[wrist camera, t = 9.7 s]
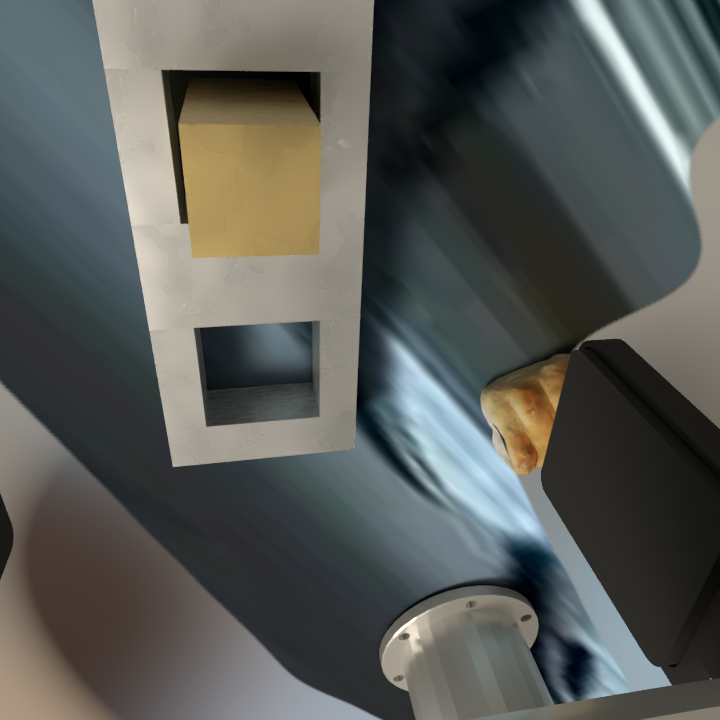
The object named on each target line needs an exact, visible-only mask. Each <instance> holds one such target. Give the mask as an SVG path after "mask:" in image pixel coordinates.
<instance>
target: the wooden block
mask: <svg viewBox="0 0 720 720" xmlns="http://www.w3.org/2000/svg"><path fill="white" fill-rule="evenodd" d="M178 127H179V136H180V146H181V155H182V165H183V175H184V184H185V194H186V203H187V213H188V222H189V232H190V241H191V251H192V258H211V257H248V256H285V255H319V238H320V177H321V124H320V123H319V121H318V119H317V118H316V116H315V114H314V112H313V111H312V109H311V107H310V106H309V104H308V102H307V101H306V99H305V97H304V96H303V94H302V92H301V91H300V89H299V87H298V85H297V84H296V82H295V80H269V79H230V78H191V77H190V81H189V85H188V88H187V92H186V96H185V100H184V104H183V108H182V111H181V115H180V119H179V123H178Z"/></svg>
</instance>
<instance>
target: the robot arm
mask: <svg viewBox="0 0 720 720" xmlns="http://www.w3.org/2000/svg"><path fill="white" fill-rule="evenodd" d="M541 481H542V486H543V489H544V491H545V493H546V495H547V497H548V498H549V500H550V501H551V503H552V505H553V506H554V508H555V510H556V511H557V513H558V515H559V516H560V518H561V519H562V521H563V523H564V524H565V526H566V528H567V529H568V531H569V532H570V534H571V536H572V537H573V539H574V541H575V542H576V544H577V545H578V547H579V549H580V550H581V552H582V554H583V555H584V557H585V559H586V560H587V562H588V563H589V565H590V567H591V568H592V570H593V572H594V573H595V575H596V576H597V578H598V580H599V581H600V582H601V585H602V586H603V588H604V589H605V591H606V593H607V594H608V596H609V597H610V599H611V601H612V603H613V604H614V606H615V607H616V609H617V611H618V612H619V614H620V615H621V617H622V619H623V620H624V622H625V624H626V625H627V627H628V628H629V630H630V632H631V633H632V635H633V637H634V638H635V640H636V641H637V643H638V645H639V647H640V648H641V650H642V651H643V653H644V654H645V656H646V658H647V659H648V660H649V661H650V662H651V663H652V664H653V665H655V666H657V667H661V668H662V670H663V671H664V673H665V675H666V676H667V678H668V679H669V681H670V683H671V684H672V686H666V687H660V688H654V689H649V690H642V691H636V692H630V693H624V694H618V695H612V696H606V697H600V698H594V699H588V700H582V701H576V702H570V703H564V704H558V705H554V703H553V701H552V699H551V697H550V694H549V692H548V690H547V688H546V685H545V683H544V681H543V679H542V676H541V674H540V672H539V670H538V667H537V665H536V663H535V661H534V658H533V656H532V654H531V652H530V648H531V647H532V645H533V643H534V641H535V639H536V637H537V633H538V628H539V624H538V618H537V616H536V613H535V611H534V609H533V607H532V605H531V604H530V602H529V601H528V600H527V598H526V597H524V596H523V595H521V594H520V593H518V592H516V591H513V590H511V589H508V588H504V587H498V586H487V585H478V586H469V587H462V588H458V589H454V590H449V591H446V592H443V593H441V594H438V595H435V596H433V597H431V598H428V599H426V600H424V601H422V602H420V603H418V604H417V605H415V606H414V607H412V608H411V609H409V610H408V611H406V612H405V613H404V614H403V615H402V616H400V617H399V618H398V619H397V620H396V621H395V622H394V623H393V624H392V626H391V627H390V628H389V629H388V630H387V632H386V634H385V636H384V637H383V639H382V641H381V645H380V649H379V653H380V661H381V665H382V669H383V673H384V674H385V676H386V677H387V679H388V680H389V681H390V682H391V683H393V684H394V685H395V686H397V687H399V688H402V689H404V690H406V691H409V694H410V698H411V702H412V706H413V710H414V714H415V718H416V720H720V429H719V428H718V427H717V426H716V425H715V424H714V423H712V422H711V421H710V420H709V419H708V418H707V417H706V416H705V415H704V414H703V413H702V412H701V411H699V410H698V409H697V408H696V407H695V406H694V405H693V404H692V403H691V402H690V401H689V400H687V399H686V398H685V397H684V396H683V395H682V394H681V393H680V392H678V390H677V389H675V388H674V387H673V386H672V385H671V384H670V383H669V382H668V381H667V380H666V379H665V378H664V377H662V376H661V375H660V374H659V373H658V372H657V371H656V370H655V369H654V368H653V367H651V366H650V365H649V364H648V363H647V362H646V361H645V360H644V359H643V358H642V357H641V356H640V355H638V354H637V353H636V352H635V351H634V350H633V349H632V348H631V347H630V346H629V345H628V344H627V343H625V342H624V341H622V340H621V339H606V340H591V341H585V342H583V343H582V345H581V346H580V347H579V350H575V351H573V352H572V354H571V356H570V358H569V362H568V366H567V370H566V374H565V378H564V382H563V386H562V390H561V394H560V398H559V402H558V406H557V410H556V414H555V418H554V422H553V426H552V430H551V434H550V438H549V442H548V446H547V450H546V454H545V458H544V462H543V466H542V470H541ZM12 546H13V528H12V524H11V521H10V518H9V516H8V513H7V511H6V508H5V505H4V502H3V500H2V497H1V495H0V579H1V576H2V574H3V571H4V569H5V566H6V563H7V560H8V558H9V555H10V552H11V550H12ZM710 678H712V679H711V680H710Z"/></svg>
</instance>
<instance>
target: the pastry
mask: <svg viewBox="0 0 720 720" xmlns="http://www.w3.org/2000/svg"><path fill="white" fill-rule="evenodd" d="M570 356H571V354H565V353H562V354H556V355H553V356H552V357H551V358H550V359H548V360H545V361H540V362H537V363H535V364H533V365H530V366H527V367H524V368H521V369H519V370H516V371H514V372H511V373H509V374H507V375H505V376H503V377H500V378H498V379H496V380H495V381H494V382H492V383H491V384H489V385H488V386H487V387H485V388H484V390H483V391H482V393H481V408H482V412H483V415H484V416H485V418H486V419H487V421H488V424H489V425H490V427H491V428H492V430H493V436H492V438H493V445H494V447H495V448H496V451H497V453H498V454H499V456H500V457H501V459H503V460H504V461H505V462H506V463H507V464H508V466H509V467H510V468H511V469H512V470H513V471H515V472H516V473H518V474H523V475H528V474H529V473H530V472H531V471H532V470H533V469H535V468H538V467H542V466H543V462H544V458H545V454H546V450H547V446H548V442H549V438H550V434H551V430H552V426H553V422H554V418H555V414H556V410H557V406H558V402H559V398H560V394H561V390H562V386H563V382H564V378H565V374H566V370H567V366H568V362H569V358H570Z"/></svg>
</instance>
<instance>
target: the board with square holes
mask: <svg viewBox="0 0 720 720" xmlns="http://www.w3.org/2000/svg"><path fill="white" fill-rule="evenodd" d="M93 6H94V12H95V18H96V23H97V29H98V35H99V41H100V47H101V52H102V58H103V64H104V70H105V76H106V81H107V87H108V93H109V99H110V104H111V110H112V116H113V122H114V128H115V133H116V139H117V145H118V151H119V157H120V162H121V168H122V174H123V180H124V186H125V191H126V197H127V203H128V209H129V215H130V220H131V226H132V232H133V238H134V244H135V249H136V255H137V261H138V267H139V272H140V278H141V284H142V290H143V296H144V301H145V307H146V313H147V319H148V325H149V330H150V336H151V342H152V348H153V354H154V359H155V365H156V371H157V377H158V383H159V388H160V394H161V400H162V406H163V412H164V417H165V423H166V429H167V435H168V441H169V446H170V452H171V458H172V464H173V467H177V466H187V465H198V464H208V463H218V462H228V461H239V460H249V459H259V458H270V457H280V456H290V455H301V454H311V453H321V452H331V451H342V450H352V449H354V446H355V424H356V401H357V378H358V355H359V332H360V309H361V286H362V263H363V240H364V217H365V194H366V172H367V149H368V126H369V103H370V80H371V57H372V34H373V11H374V0H93ZM169 70H220V71H294V72H311V109H312V111H313V112H314V114H315V116H316V118H317V119H318V121H319V123H320V124H321V177H320V238H319V255H285V256H248V257H211V258H192V251H191V241H190V232H189V222H188V213H187V203H186V199H184V191H183V183H182V174H181V166H180V158H179V149H178V141H177V133H176V124H175V116H174V108H173V100H172V91H171V83H170V75H169ZM303 321H312V382H306V383H293V384H280V385H267V386H254V387H241V388H228V389H215V390H207V382H206V374H205V365H204V357H203V349H202V341H201V332H200V327H217V326H234V325H252V324H269V323H286V322H303Z"/></svg>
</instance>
